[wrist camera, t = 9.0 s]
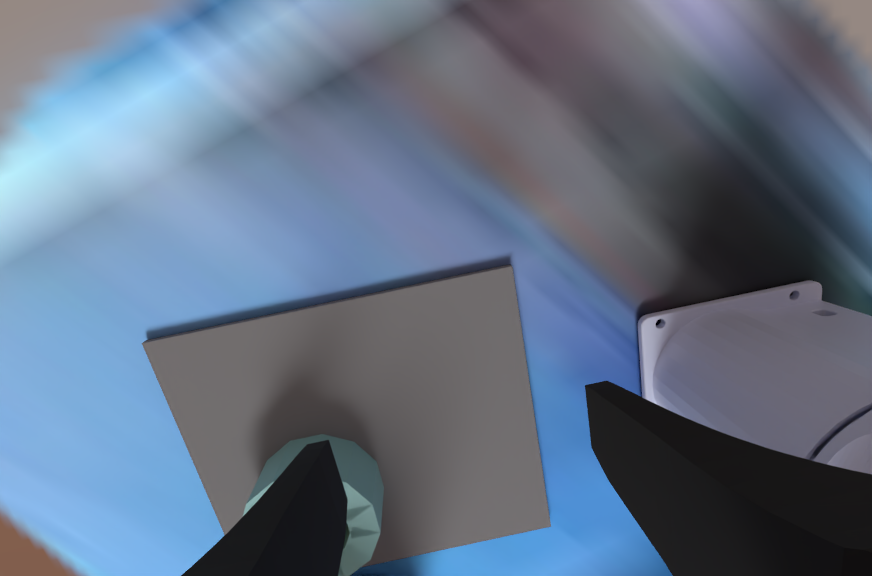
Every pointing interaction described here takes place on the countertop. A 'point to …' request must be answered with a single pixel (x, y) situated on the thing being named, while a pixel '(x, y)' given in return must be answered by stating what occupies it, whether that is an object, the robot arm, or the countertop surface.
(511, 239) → the countertop surface
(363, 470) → the bead
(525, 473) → the mat
